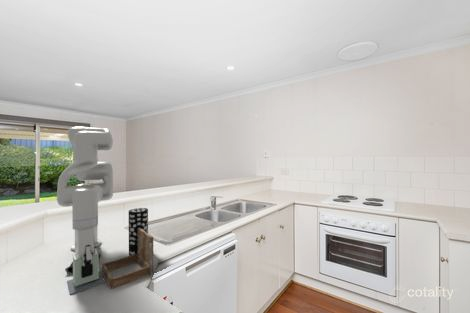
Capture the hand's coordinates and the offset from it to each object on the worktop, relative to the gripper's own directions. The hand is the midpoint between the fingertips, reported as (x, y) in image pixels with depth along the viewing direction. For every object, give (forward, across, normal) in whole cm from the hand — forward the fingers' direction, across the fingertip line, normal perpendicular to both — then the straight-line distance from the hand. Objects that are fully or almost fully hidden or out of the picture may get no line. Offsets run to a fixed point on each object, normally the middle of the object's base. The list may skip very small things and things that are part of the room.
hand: (85, 272), depth 77 cm
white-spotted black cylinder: (+4, -12, +22) cm, 25 cm away
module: (+3, 0, 0) cm, 3 cm away
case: (+4, +3, +12) cm, 13 cm away
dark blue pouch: (+4, -17, +2) cm, 18 cm away
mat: (+4, 0, 0) cm, 4 cm away
